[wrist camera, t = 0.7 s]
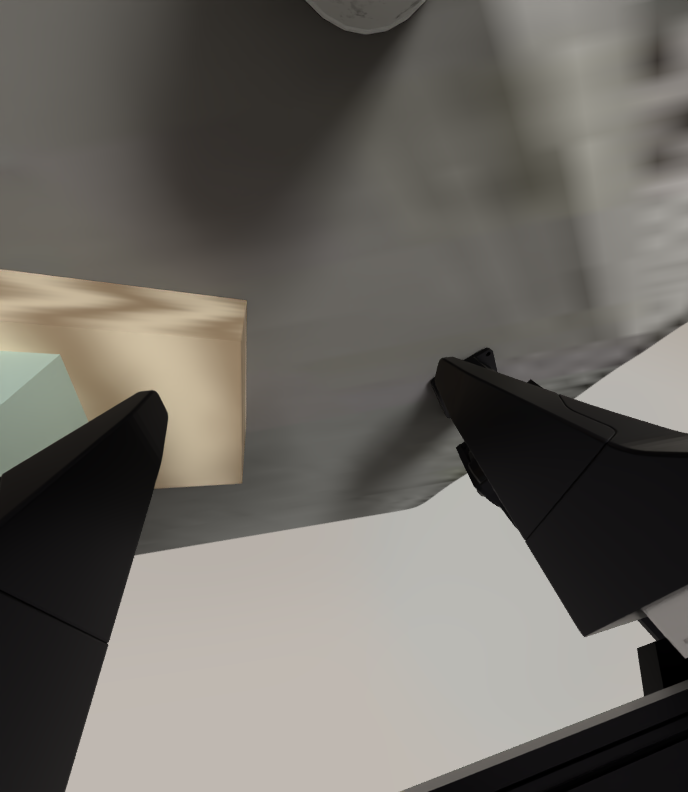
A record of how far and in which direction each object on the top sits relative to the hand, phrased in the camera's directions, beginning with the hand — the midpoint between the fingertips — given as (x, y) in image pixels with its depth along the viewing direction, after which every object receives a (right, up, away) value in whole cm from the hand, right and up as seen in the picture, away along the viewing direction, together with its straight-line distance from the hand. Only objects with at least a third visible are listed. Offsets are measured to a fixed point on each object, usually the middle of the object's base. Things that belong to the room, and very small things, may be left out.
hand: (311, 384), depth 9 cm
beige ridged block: (-14, +2, +12) cm, 18 cm away
